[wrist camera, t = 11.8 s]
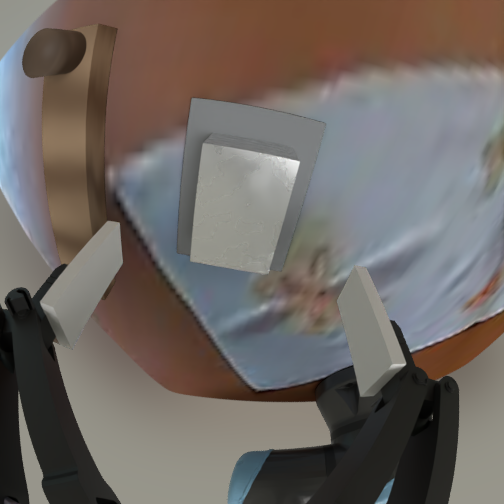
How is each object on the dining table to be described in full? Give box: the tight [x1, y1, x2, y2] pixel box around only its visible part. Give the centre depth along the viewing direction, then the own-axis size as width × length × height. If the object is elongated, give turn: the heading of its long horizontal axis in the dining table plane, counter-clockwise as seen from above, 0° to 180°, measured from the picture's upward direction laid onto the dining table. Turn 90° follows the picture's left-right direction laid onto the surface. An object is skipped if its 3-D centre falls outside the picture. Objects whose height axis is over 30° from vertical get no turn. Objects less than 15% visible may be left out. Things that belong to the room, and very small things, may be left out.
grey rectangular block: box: [190, 133, 300, 275], centre depth 20 cm, size 9×6×4 cm, turn 169°
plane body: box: [22, 24, 117, 344], centre depth 16 cm, size 26×5×10 cm, turn 169°
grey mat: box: [177, 98, 326, 271], centre depth 21 cm, size 14×10×1 cm
